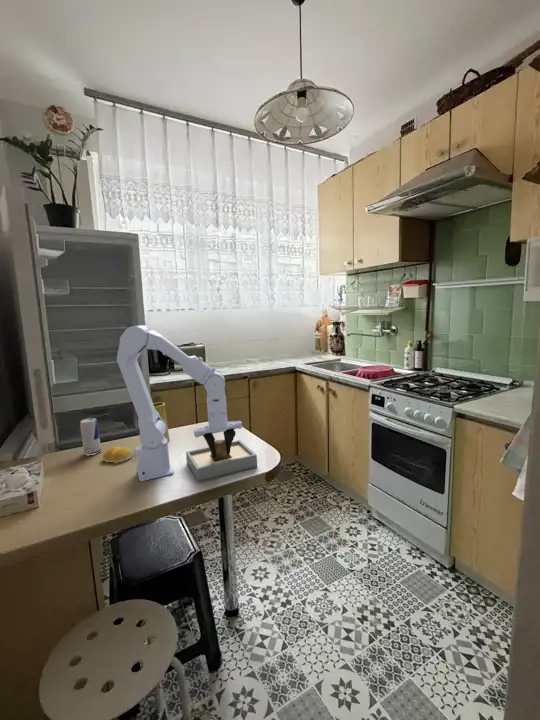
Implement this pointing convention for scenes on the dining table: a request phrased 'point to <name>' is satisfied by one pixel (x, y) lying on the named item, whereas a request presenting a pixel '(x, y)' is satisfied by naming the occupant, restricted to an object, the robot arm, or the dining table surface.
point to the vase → (162, 415)
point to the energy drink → (90, 435)
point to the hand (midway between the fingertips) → (220, 454)
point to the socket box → (220, 462)
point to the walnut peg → (220, 450)
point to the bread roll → (117, 454)
